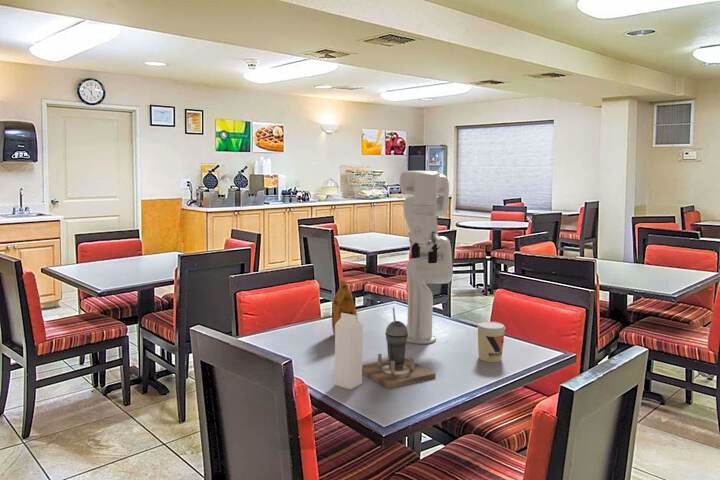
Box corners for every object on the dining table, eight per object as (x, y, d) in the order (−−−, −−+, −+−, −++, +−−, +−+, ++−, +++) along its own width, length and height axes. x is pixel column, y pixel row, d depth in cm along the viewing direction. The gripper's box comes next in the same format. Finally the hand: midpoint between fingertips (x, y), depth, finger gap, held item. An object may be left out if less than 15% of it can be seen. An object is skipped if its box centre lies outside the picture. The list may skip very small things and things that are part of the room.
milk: (346, 379, 178) (347, 310, 175) (362, 383, 174) (363, 313, 171) (334, 385, 173) (334, 314, 170) (350, 389, 169) (350, 317, 166)
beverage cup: (406, 373, 178) (407, 311, 176) (383, 371, 180) (383, 310, 177) (408, 365, 185) (409, 305, 183) (386, 364, 187) (387, 304, 184)
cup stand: (357, 370, 185) (357, 352, 185) (402, 361, 195) (402, 344, 194) (387, 388, 170) (388, 369, 169) (435, 377, 179) (435, 359, 179)
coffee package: (332, 343, 214) (332, 285, 211) (331, 333, 226) (331, 279, 224) (359, 342, 215) (359, 285, 212) (356, 333, 227) (356, 278, 224)
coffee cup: (488, 364, 192) (489, 330, 190) (470, 356, 200) (471, 323, 198) (509, 360, 196) (511, 326, 194) (491, 352, 204) (492, 320, 203)
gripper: (401, 207, 195) (400, 257, 197) (431, 213, 180) (430, 266, 182) (419, 206, 198) (418, 255, 201) (450, 212, 183) (448, 264, 186)
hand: (423, 260), depth 192 cm, fingers open, 9 cm apart
